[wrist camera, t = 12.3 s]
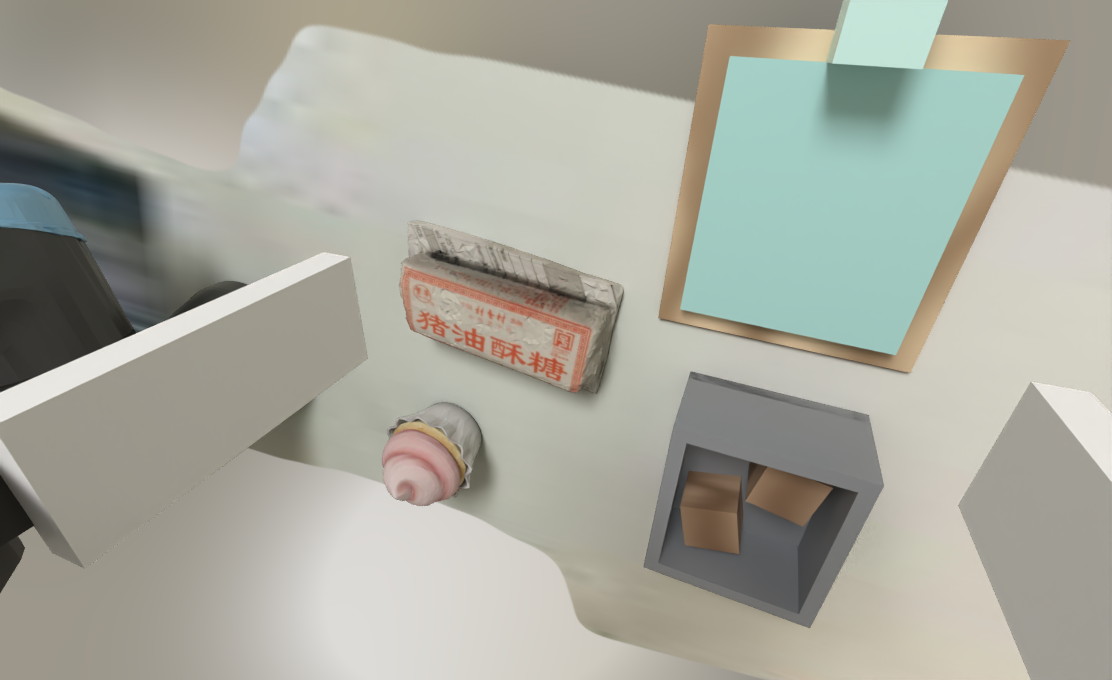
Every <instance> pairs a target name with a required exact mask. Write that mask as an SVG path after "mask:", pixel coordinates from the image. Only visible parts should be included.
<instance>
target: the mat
mask: <svg viewBox="0 0 1112 680" xmlns="http://www.w3.org/2000/svg"><path fill="white" fill-rule="evenodd" d="M834 32H835V30H822V29H799V28H798V29H797V28H776V27H753V26H732V25H731V26H730V25H710V24H709V26H708V32H707V37H706V43H705V49H704V54H703V60H702V66H701V72H700V78H699V84H698V89H697V95H696V101H695V107H694V113H693V119H692V124H691V130H690V136H689V142H688V148H687V154H686V159H685V165H684V171H683V177H682V183H681V189H680V194H679V200H678V206H677V212H676V218H675V223H674V229H673V235H672V241H671V247H670V253H669V258H668V264H667V270H666V276H665V282H664V288H663V293H662V299H661V305H660V311H659V317H658V318H661V319H666V320H671V321H675V322H680V323H684V324H689V325H693V326H698V327H703V328H707V329H712V330H716V331H721V332H725V333H730V334H735V335H739V336H744V337H748V338H753V339H757V340H762V341H767V342H771V343H776V344H780V345H785V346H789V347H794V348H798V349H803V350H808V351H812V352H817V353H821V354H826V355H830V356H835V357H840V358H844V359H849V360H853V361H858V362H862V363H867V364H872V365H876V366H881V367H885V368H890V369H894V370H899V371H904V372H908V373H910V372H911V370H912V368H913V366H914V364H915V362H916V360H917V358H918V356H919V354H920V352H921V349H922V347H923V345H924V343H925V341H926V339H927V337H928V335H929V333H930V331H931V329H932V327H933V325H934V322H935V320H936V318H937V316H938V314H939V312H940V310H941V308H942V306H943V304H944V302H945V300H946V298H947V296H948V293H949V291H950V289H951V287H952V285H953V283H954V281H955V279H956V277H957V275H958V273H959V271H960V269H961V266H962V264H963V262H964V260H965V258H966V256H967V254H968V252H969V250H970V248H971V246H972V244H973V242H974V240H975V237H976V235H977V233H978V231H979V229H980V227H981V225H982V223H983V221H984V219H985V217H986V215H987V213H988V210H989V208H990V206H991V204H992V202H993V200H994V198H995V196H996V194H997V192H998V190H999V188H1000V186H1001V184H1002V181H1003V179H1004V177H1005V175H1006V173H1007V171H1008V169H1009V167H1010V165H1011V163H1012V161H1013V158H1014V157H1015V154H1016V152H1017V150H1018V148H1019V146H1020V144H1021V142H1022V140H1023V138H1024V136H1025V133H1026V132H1027V129H1028V128H1029V125H1030V123H1031V121H1032V119H1033V117H1034V115H1035V113H1036V111H1037V109H1038V107H1039V105H1040V103H1041V101H1042V98H1043V96H1044V94H1045V92H1046V90H1047V88H1048V86H1049V84H1050V82H1051V80H1052V78H1053V76H1054V73H1055V72H1056V69H1057V67H1058V65H1059V63H1060V61H1061V59H1062V57H1063V55H1064V53H1065V51H1066V49H1067V47H1068V44H1069V42H1070V41H1068V40H1046V39H1024V38H1001V37H978V36H955V35H935V37H934V40H933V43H932V46H931V48H930V51H929V54H928V56H927V59H926V62H925V65H924V67H923V68H925V69H941V70H956V71H972V72H987V73H1003V74H1018V75H1024V78H1023V80H1022V82H1021V84H1020V86H1019V89H1018V91H1017V93H1016V95H1015V97H1014V99H1013V102H1012V104H1011V106H1010V108H1009V110H1008V113H1007V115H1006V117H1005V119H1004V121H1003V123H1002V126H1001V128H1000V130H999V132H998V134H997V136H996V139H995V141H994V143H993V145H992V147H991V150H990V152H989V154H988V156H987V158H986V160H985V163H984V165H983V167H982V169H981V171H980V173H979V176H978V178H977V180H976V182H975V184H974V187H973V189H972V191H971V193H970V195H969V197H968V200H967V202H966V204H965V206H964V208H963V211H962V213H961V215H960V217H959V219H958V221H957V224H956V226H955V228H954V230H953V232H952V234H951V237H950V239H949V241H948V243H947V245H946V248H945V250H944V252H943V254H942V256H941V258H940V261H939V263H938V265H937V267H936V269H935V271H934V274H933V276H932V278H931V280H930V282H929V285H928V287H927V289H926V291H925V293H924V295H923V298H922V300H921V302H920V304H919V306H918V308H917V311H916V313H915V315H914V317H913V319H912V322H911V324H910V326H909V328H908V330H907V332H906V335H905V337H904V339H903V341H902V343H901V346H900V348H899V350H898V352H897V354H896V355H892V354H887V353H883V352H878V351H873V350H869V349H864V348H859V347H854V346H850V345H845V344H840V343H836V342H831V341H826V340H822V339H817V338H812V337H808V336H803V335H798V334H793V333H789V332H784V331H779V330H775V329H770V328H765V327H761V326H756V325H751V324H747V323H742V322H737V321H733V320H728V319H723V318H718V317H714V316H709V315H704V314H700V313H695V312H690V311H686V310H681V309H680V307H681V302H682V297H683V291H684V286H685V281H686V276H687V271H688V266H689V261H690V256H691V251H692V246H693V241H694V236H695V230H696V225H697V220H698V215H699V210H700V205H701V200H702V195H703V190H704V185H705V180H706V175H707V169H708V164H709V159H710V154H711V149H712V144H713V139H714V134H715V129H716V124H717V119H718V113H719V108H720V103H721V98H722V93H723V88H724V83H725V78H726V73H727V68H728V63H729V58H730V56H739V57H755V58H770V59H786V60H801V61H817V62H826V60H827V56H828V53H829V49H830V46H831V42H832V39H833V35H834Z"/></svg>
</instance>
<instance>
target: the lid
mask: <svg viewBox="0 0 1112 680" xmlns="http://www.w3.org/2000/svg"><path fill="white" fill-rule="evenodd" d="M947 2H948V0H843V3H842V7H841V11H840V14H839V17H838V21H837V24H836V28H835V32H834V35H833V39H832V42H831V46H830V49H829V53H828V56H827V60H826V62H817V61H801V60H786V59H770V58H755V57H739V56H730V58H729V63H728V68H727V73H726V78H725V83H724V88H723V93H722V98H721V103H720V108H719V113H718V119H717V124H716V129H715V134H714V139H713V144H712V149H711V154H710V159H709V164H708V169H707V175H706V180H705V185H704V190H703V195H702V200H701V205H700V210H699V215H698V220H697V225H696V230H695V236H694V241H693V246H692V251H691V256H690V261H689V266H688V271H687V276H686V281H685V286H684V291H683V297H682V302H681V307H680V309H681V310H686V311H690V312H695V313H700V314H704V315H709V316H714V317H718V318H723V319H728V320H733V321H737V322H742V323H747V324H751V325H756V326H761V327H765V328H770V329H775V330H779V331H784V332H789V333H793V334H798V335H803V336H808V337H812V338H817V339H822V340H826V341H831V342H836V343H840V344H845V345H850V346H854V347H859V348H864V349H869V350H873V351H878V352H883V353H887V354H892V355H896V354H897V352H898V350H899V348H900V346H901V343H902V341H903V339H904V337H905V335H906V332H907V330H908V328H909V326H910V324H911V322H912V319H913V317H914V315H915V313H916V311H917V308H918V306H919V304H920V302H921V300H922V298H923V295H924V293H925V291H926V289H927V287H928V285H929V282H930V280H931V278H932V276H933V274H934V271H935V269H936V267H937V265H938V263H939V261H940V258H941V256H942V254H943V252H944V250H945V248H946V245H947V243H948V241H949V239H950V237H951V234H952V232H953V230H954V228H955V226H956V224H957V221H958V219H959V217H960V215H961V213H962V211H963V208H964V206H965V204H966V202H967V200H968V197H969V195H970V193H971V191H972V189H973V187H974V184H975V182H976V180H977V178H978V176H979V173H980V171H981V169H982V167H983V165H984V163H985V160H986V158H987V156H988V154H989V152H990V150H991V147H992V145H993V143H994V141H995V139H996V136H997V134H998V132H999V130H1000V128H1001V126H1002V123H1003V121H1004V119H1005V117H1006V115H1007V113H1008V110H1009V108H1010V106H1011V104H1012V102H1013V99H1014V97H1015V95H1016V93H1017V91H1018V89H1019V86H1020V84H1021V82H1022V80H1023V78H1024V75H1018V74H1003V73H987V72H972V71H956V70H941V69H925V68H923V67H924V65H925V62H926V59H927V56H928V54H929V51H930V48H931V46H932V43H933V40H934V37H935V35H936V32H937V29H938V26H939V24H940V21H941V18H942V15H943V13H944V10H945V7H946V5H947Z"/></svg>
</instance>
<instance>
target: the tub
mask: <svg viewBox="0 0 1112 680" xmlns="http://www.w3.org/2000/svg"><path fill="white" fill-rule="evenodd" d="M750 462H754V463H757V464H761V465H764V466H767V467H771V468H774V469H778V470H781V471H785V472H788V473H792V474H795V475H799V476H802V477H806V478H809V479H813V480H816V481H820V482H823V483H826V484H830V485H833V489H832V490H831V492H830V493H829V494H828V495H827V497H826V498H825V499H824V501H823V502H822V503H821V504H820V506H819V507H818V508H817V510H816V511H815V512H814V513H813V515H812V516H811V517H810V518H809V520H808V521H807V522H806V524H805V525H804V526H800V525H798V524H796V523H794V522H792V521H789V520H787V519H785V518H783V517H780V516H778V515H776V514H774V513H771V512H769V511H767V510H765V509H763V508H760V507H758V506H756V505H754V504H751V503H749V502H747V501H745V500H746V490H747V481H748V471H749V463H750ZM689 471H696V472H706V473H715V474H725V475H735V476H741V482H742V501H743V523H742V532H741V542H740V552H739V554H735V553H729V552H723V551H717V550H711V549H704V548H698V547H692V546H686V545H685V543H684V535H683V527H682V518H681V510H680V504H681V500H682V496H683V492H684V488H685V484H686V480H687V476H688V472H689ZM883 487H884V483H883V479H882V474H881V470H880V465H879V460H878V456H877V451H876V446H875V442H874V437H873V433H872V428H871V423H870V419H869V415H866V414H862V413H858V412H854V411H850V410H846V409H841V408H837V407H833V406H829V405H825V404H821V403H817V402H813V401H809V400H805V399H801V398H797V397H793V396H789V395H784V394H780V393H776V392H772V391H768V390H764V389H760V388H756V387H752V386H748V385H744V384H740V383H736V382H732V381H727V380H723V379H719V378H715V377H711V376H707V375H703V374H699V373H695V372H691V373H690V376H689V379H688V382H687V385H686V389H685V392H684V395H683V398H682V401H681V405H680V408H679V411H678V414H677V417H676V420H675V424H674V427H673V431H672V436H671V441H670V445H669V450H668V455H667V459H666V464H665V469H664V473H663V478H662V483H661V487H660V492H659V497H658V501H657V506H656V511H655V515H654V520H653V525H652V529H651V534H650V539H649V543H648V548H647V553H646V557H645V562H644V567H645V568H648V569H650V570H653V571H656V572H659V573H661V574H664V575H667V576H669V577H672V578H675V579H678V580H680V581H683V582H686V583H688V584H691V585H694V586H697V587H699V588H702V589H705V590H707V591H710V592H713V593H715V594H718V595H721V596H724V597H726V598H729V599H732V600H734V601H737V602H740V603H743V604H745V605H748V606H751V607H753V608H756V609H759V610H762V611H764V612H767V613H770V614H772V615H775V616H778V617H781V618H783V619H786V620H789V621H791V622H794V623H797V624H800V625H802V626H805V627H808V628H810V627H811V625H812V623H813V621H814V619H815V617H816V615H817V613H818V611H819V610H820V608H821V606H822V604H823V602H824V600H825V598H826V596H827V594H828V592H829V590H830V588H831V587H832V585H833V583H834V581H835V579H836V577H837V575H838V573H839V571H840V569H841V567H842V565H843V563H844V562H845V560H846V558H847V556H848V554H849V552H850V550H851V548H852V546H853V544H854V542H855V540H856V539H857V537H858V535H859V533H860V531H861V529H862V527H863V525H864V523H865V521H866V519H867V517H868V516H869V514H870V512H871V510H872V508H873V506H874V504H875V502H876V500H877V498H878V496H879V494H880V492H881V491H882V489H883Z"/></svg>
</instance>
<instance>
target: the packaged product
mask: <svg viewBox="0 0 1112 680" xmlns="http://www.w3.org/2000/svg"><path fill="white" fill-rule="evenodd" d="M408 245H409V258H406V259H404V260H403V261H402V262H401V264H402V268H401V278H400V284H399V289H400V295H401V297H402V299H403V304H404V307H405V310H406V319H407V322H408V324H409V326H410V329H411V330H413V331H414V332H417V333H420V334H422V335H424V336H426V337H429V338H431V339H434V340H437V341H439V342H442V343H445V344H447V345H450V346H452V347H455V348H457V349H460V350H463V351H466V352H469V353H471V354H474V355H476V356H479V357H482V358H484V359H487V360H490V361H492V362H495V363H497V364H500V365H503V366H505V367H508V368H510V369H513V370H516V371H519V372H521V373H524V374H526V375H529V376H531V377H534V378H537V379H539V380H542V381H544V382H547V383H549V384H552V385H555V386H557V387H560V388H562V389H565V390H567V391H570V392H575V393H576V392H578V391H580V390H581V389H584V390H587V391H590V392H593V393H597V390H598V387H599V383H600V380H601V376H602V373H603V370H604V366H605V363H606V359H607V355H608V349H609V344H610V339H611V333H612V329H613V326H614V323H615V319H616V316H617V312H618V308H619V305H620V301H621V298H622V294H623V287H622V285H621V284H618V283H615V282H612V281H609V280H605V279H602V278H599V277H596V276H592V275H589V274H585V273H583V272H580V271H577V270H574V269H572V268H569V267H566V266H564V265H561V264H558V263H555V262H553V261H550V260H547V259H544V258H541V257H538V256H535V255H532V254H529V253H526V252H523V251H520V250H517V249H514V248H511V247H508V246H505V245H502V244H499V243H496V242H493V241H490V240H486V239H483V238H480V237H477V236H473V235H470V234H466V233H463V232H459V231H456V230H452V229H449V228H445V227H441V226H438V225H434V224H431V223H427V222H423V221H412V222H408Z"/></svg>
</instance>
